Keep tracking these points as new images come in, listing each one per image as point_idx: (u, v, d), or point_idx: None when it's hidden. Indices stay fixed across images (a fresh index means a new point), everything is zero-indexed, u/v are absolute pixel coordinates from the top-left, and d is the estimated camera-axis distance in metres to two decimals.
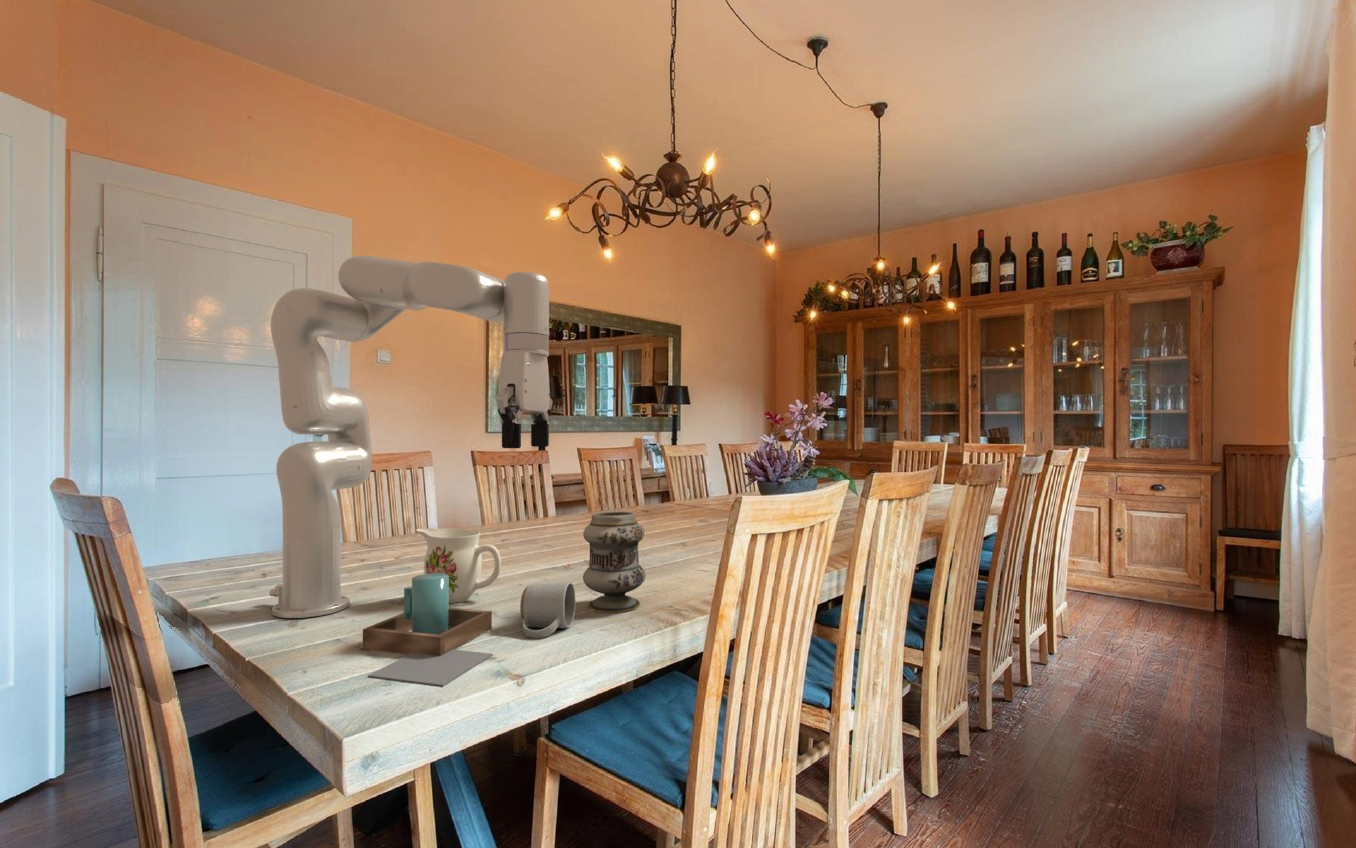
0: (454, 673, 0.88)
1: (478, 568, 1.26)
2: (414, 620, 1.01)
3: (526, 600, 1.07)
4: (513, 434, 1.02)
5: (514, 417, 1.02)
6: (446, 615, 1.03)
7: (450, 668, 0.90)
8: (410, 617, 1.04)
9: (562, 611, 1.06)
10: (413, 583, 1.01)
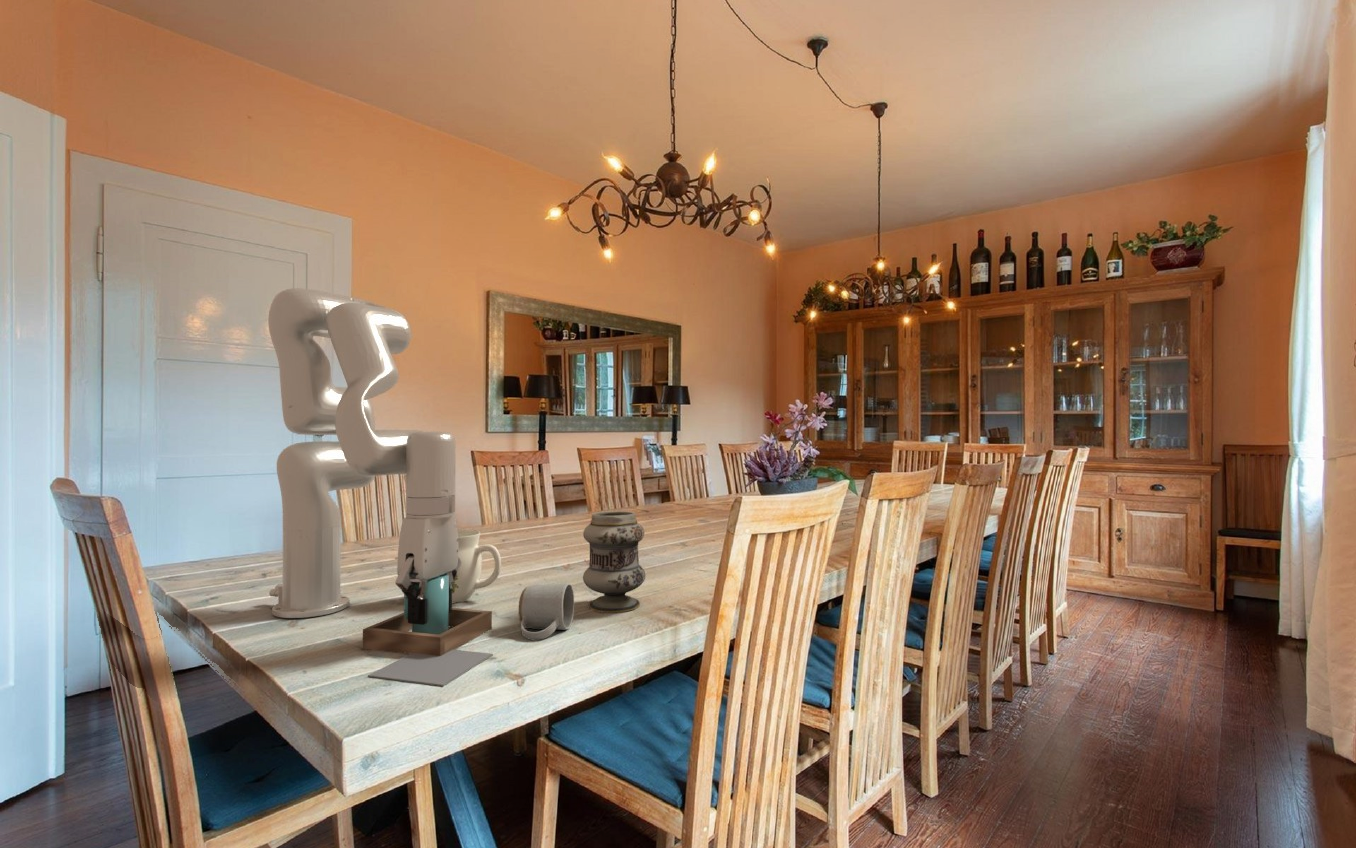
0: (454, 673, 0.88)
1: (478, 568, 1.26)
2: None
3: (524, 602, 1.06)
4: (418, 611, 0.99)
5: (418, 595, 0.99)
6: (446, 615, 1.03)
7: (450, 668, 0.90)
8: None
9: (560, 613, 1.05)
10: None
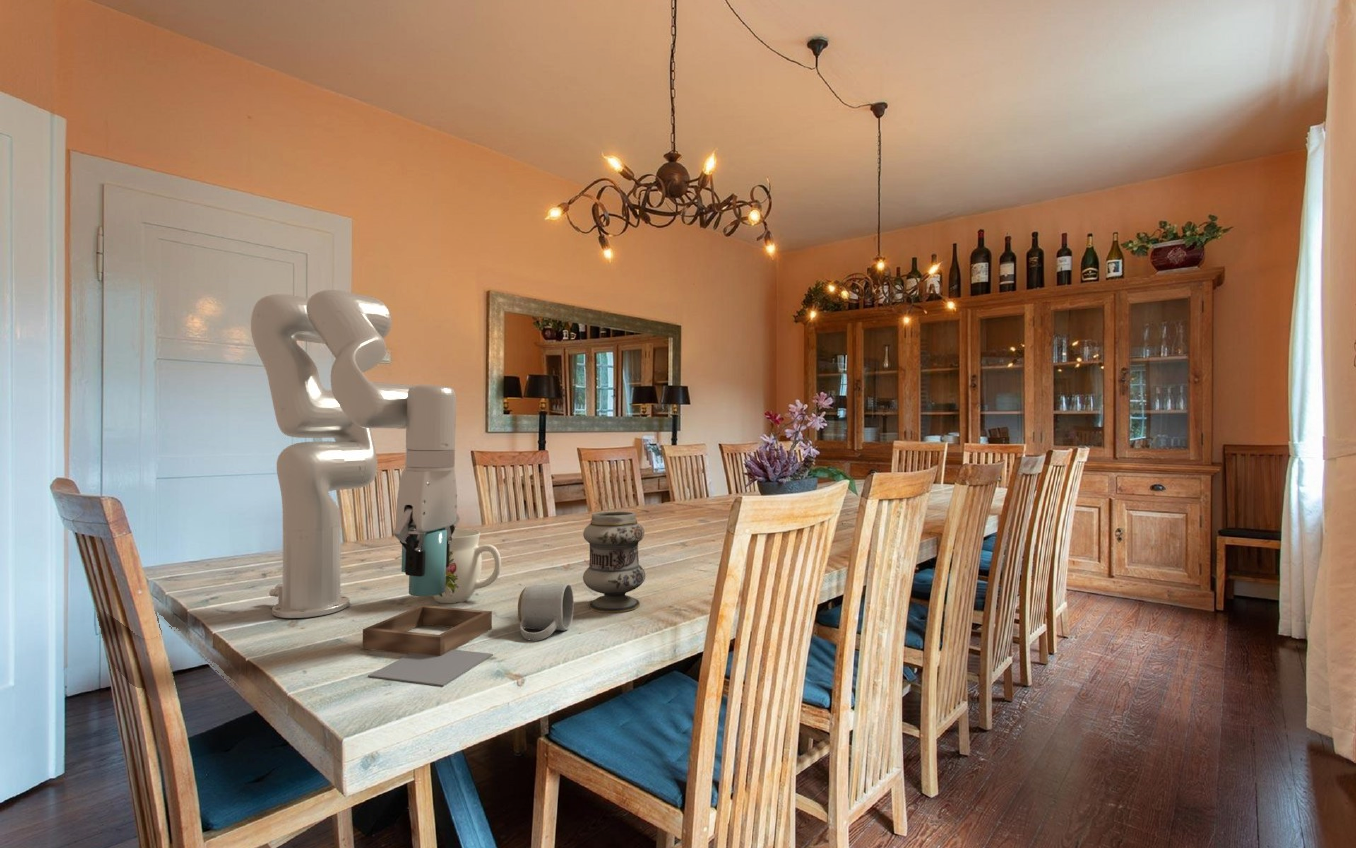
0: (454, 673, 0.88)
1: (478, 568, 1.26)
2: None
3: (523, 602, 1.06)
4: (416, 562, 1.00)
5: (416, 547, 0.99)
6: (443, 569, 1.03)
7: (450, 668, 0.90)
8: None
9: (560, 613, 1.04)
10: None
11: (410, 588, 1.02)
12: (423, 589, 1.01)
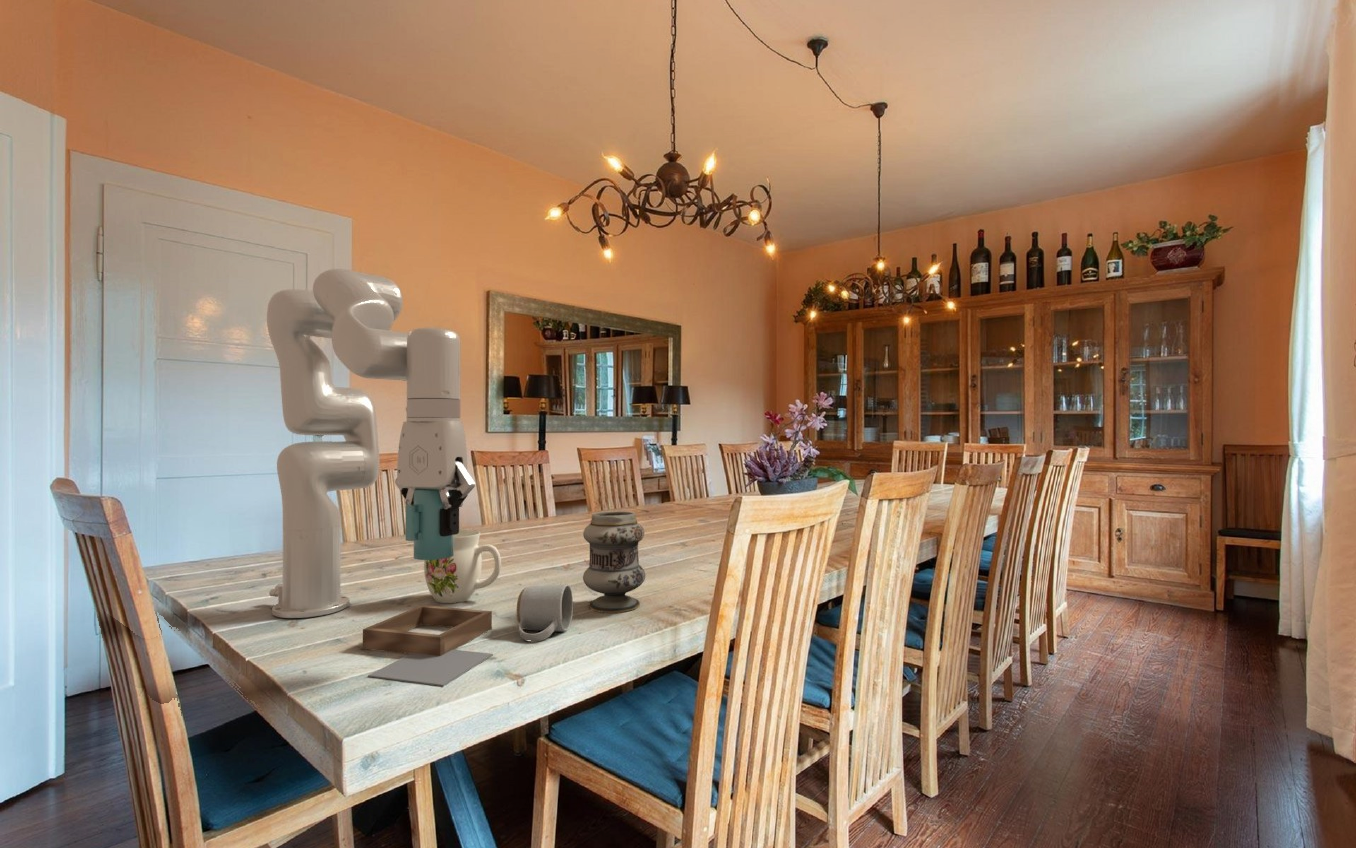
0: (454, 673, 0.88)
1: (478, 568, 1.26)
2: None
3: (522, 603, 1.05)
4: None
5: (461, 501, 0.93)
6: None
7: (450, 668, 0.90)
8: (418, 537, 0.91)
9: (559, 614, 1.04)
10: (438, 494, 0.92)
11: (438, 552, 0.92)
12: (452, 548, 0.94)
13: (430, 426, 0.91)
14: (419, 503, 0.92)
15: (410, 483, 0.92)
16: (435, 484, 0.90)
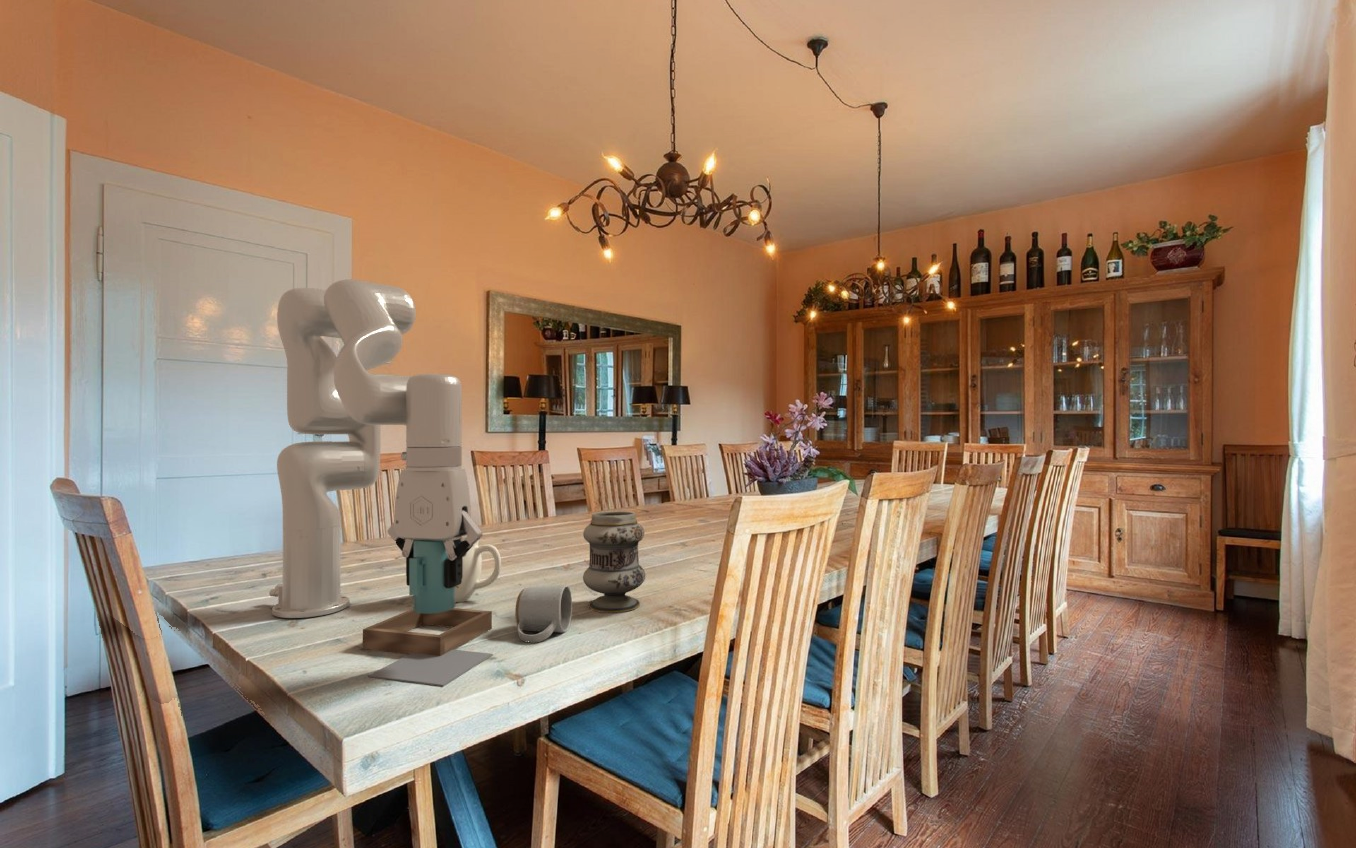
0: (454, 673, 0.88)
1: (478, 568, 1.26)
2: None
3: (521, 604, 1.05)
4: None
5: None
6: None
7: (450, 668, 0.90)
8: (422, 590, 0.88)
9: (558, 615, 1.04)
10: (443, 544, 0.90)
11: (443, 604, 0.89)
12: (454, 598, 0.92)
13: (435, 475, 0.88)
14: (422, 555, 0.89)
15: (412, 534, 0.89)
16: (442, 536, 0.88)
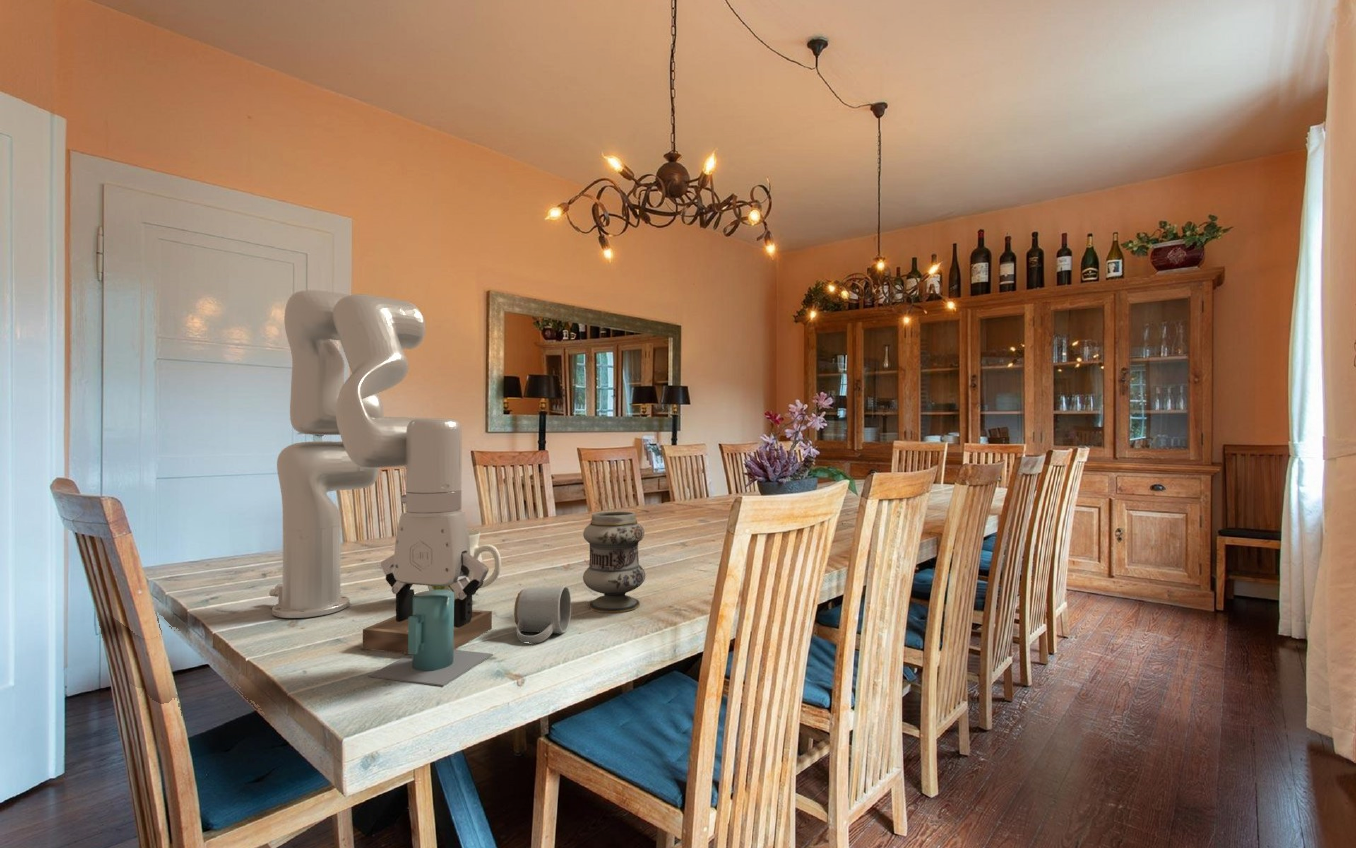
0: (454, 673, 0.88)
1: None
2: (444, 642, 0.90)
3: (520, 605, 1.04)
4: None
5: None
6: None
7: (450, 668, 0.90)
8: (421, 648, 0.88)
9: (557, 616, 1.03)
10: (442, 602, 0.90)
11: (441, 661, 0.90)
12: (453, 654, 0.92)
13: (435, 521, 0.88)
14: (421, 613, 0.89)
15: (411, 579, 0.89)
16: (442, 581, 0.88)
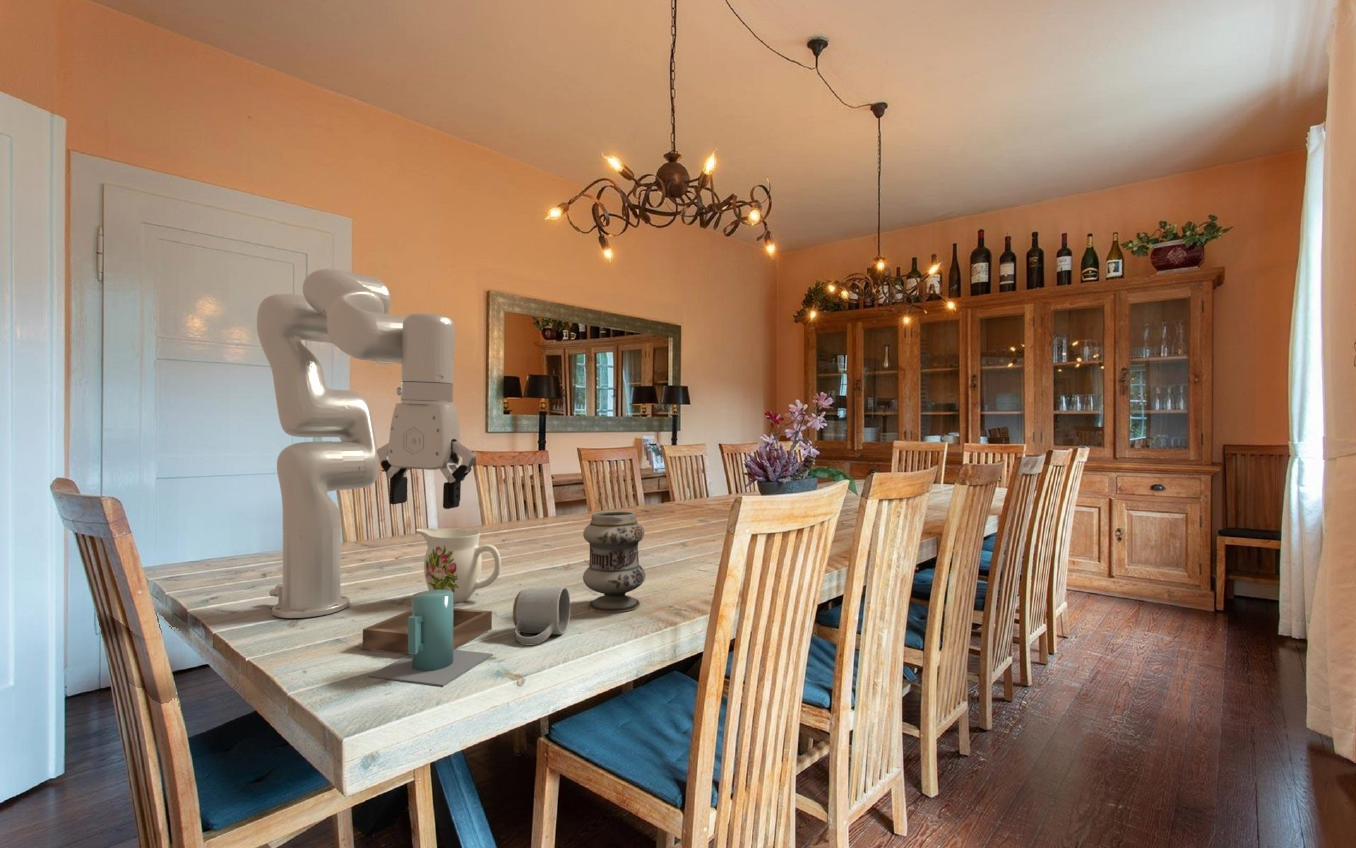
0: (454, 673, 0.88)
1: (478, 568, 1.26)
2: (443, 642, 0.90)
3: (518, 606, 1.04)
4: None
5: None
6: None
7: (450, 668, 0.90)
8: (421, 648, 0.88)
9: (556, 617, 1.02)
10: (441, 601, 0.90)
11: (441, 661, 0.90)
12: (452, 654, 0.92)
13: (427, 408, 0.95)
14: (421, 613, 0.89)
15: (404, 463, 0.96)
16: (432, 464, 0.94)
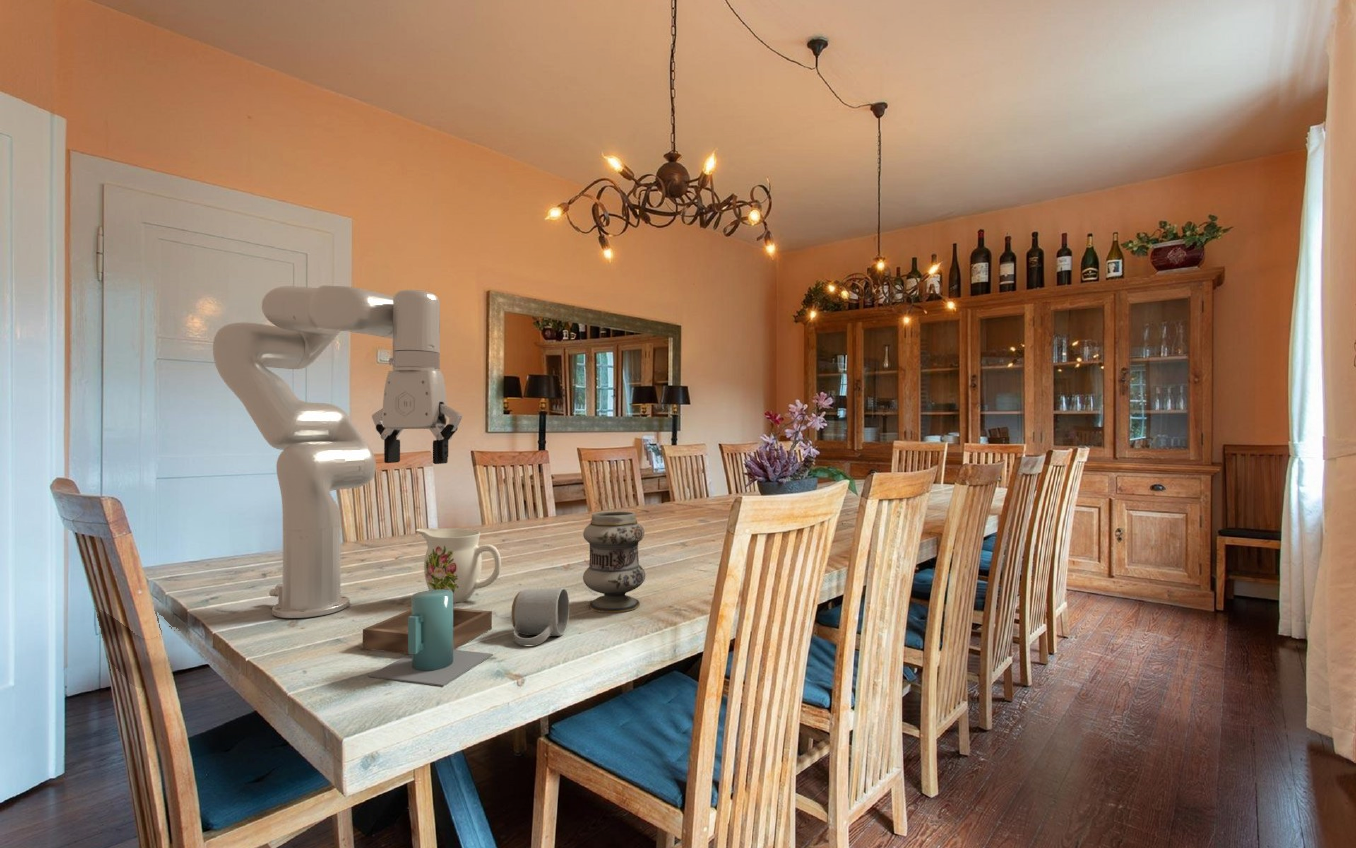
0: (454, 673, 0.88)
1: (478, 568, 1.26)
2: (444, 641, 0.90)
3: (517, 607, 1.03)
4: None
5: None
6: None
7: (450, 668, 0.90)
8: (421, 648, 0.88)
9: (554, 618, 1.02)
10: (441, 601, 0.90)
11: (441, 661, 0.90)
12: (452, 653, 0.92)
13: (417, 374, 1.06)
14: (421, 612, 0.89)
15: (397, 424, 1.07)
16: (422, 424, 1.05)
